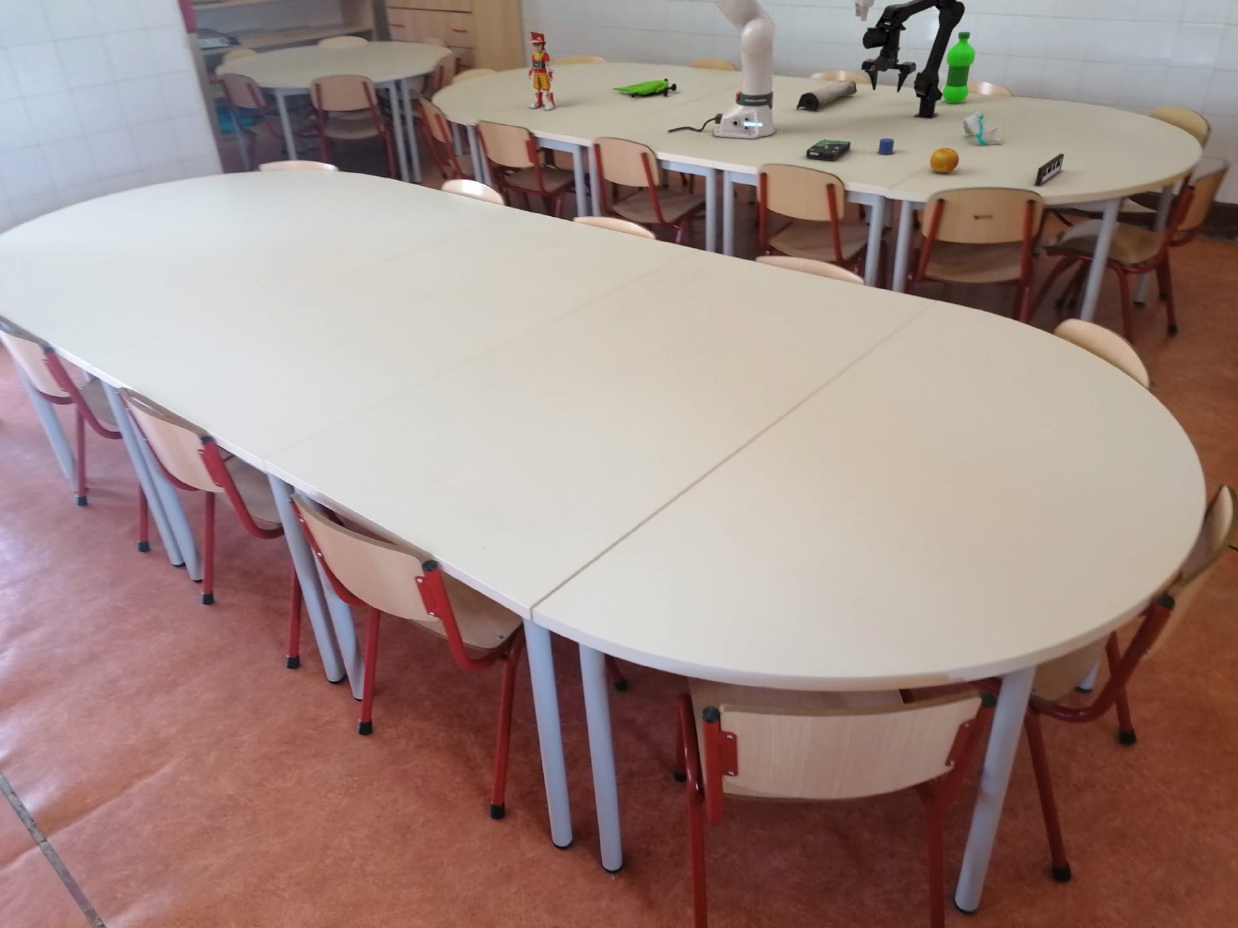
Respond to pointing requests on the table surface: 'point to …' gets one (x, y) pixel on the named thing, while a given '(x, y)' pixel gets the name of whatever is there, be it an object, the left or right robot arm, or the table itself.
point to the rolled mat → (826, 94)
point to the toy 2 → (648, 88)
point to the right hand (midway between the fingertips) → (886, 91)
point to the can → (886, 146)
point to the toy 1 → (541, 71)
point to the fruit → (944, 160)
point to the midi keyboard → (1049, 169)
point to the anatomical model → (979, 129)
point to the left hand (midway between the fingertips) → (860, 18)
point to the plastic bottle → (958, 69)
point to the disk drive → (828, 149)
